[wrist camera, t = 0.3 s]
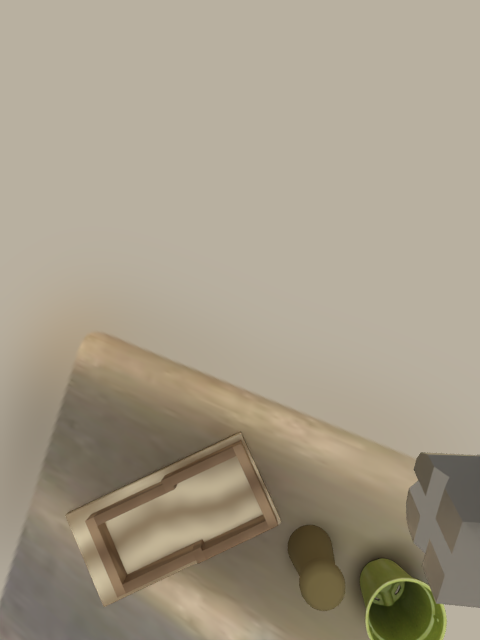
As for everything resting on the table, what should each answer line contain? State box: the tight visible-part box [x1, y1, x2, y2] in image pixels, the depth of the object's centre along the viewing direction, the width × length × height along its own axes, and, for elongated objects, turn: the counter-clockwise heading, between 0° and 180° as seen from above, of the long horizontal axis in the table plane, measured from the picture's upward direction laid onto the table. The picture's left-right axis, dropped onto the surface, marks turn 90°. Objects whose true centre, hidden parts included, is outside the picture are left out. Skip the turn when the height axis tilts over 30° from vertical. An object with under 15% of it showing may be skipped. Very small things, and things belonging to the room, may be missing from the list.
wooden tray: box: [65, 432, 281, 607], centre depth 58 cm, size 13×26×4 cm, turn 115°
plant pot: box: [360, 558, 447, 640], centre depth 55 cm, size 9×9×9 cm
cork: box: [288, 525, 345, 611], centre depth 54 cm, size 6×6×11 cm
